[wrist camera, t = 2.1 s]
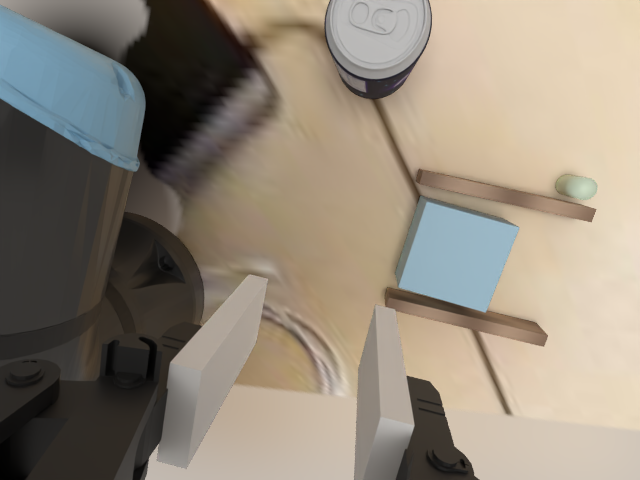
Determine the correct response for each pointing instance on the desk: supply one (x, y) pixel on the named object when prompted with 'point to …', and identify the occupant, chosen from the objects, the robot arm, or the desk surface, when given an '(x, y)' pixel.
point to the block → (454, 253)
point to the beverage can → (376, 42)
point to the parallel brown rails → (465, 315)
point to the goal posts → (576, 187)
